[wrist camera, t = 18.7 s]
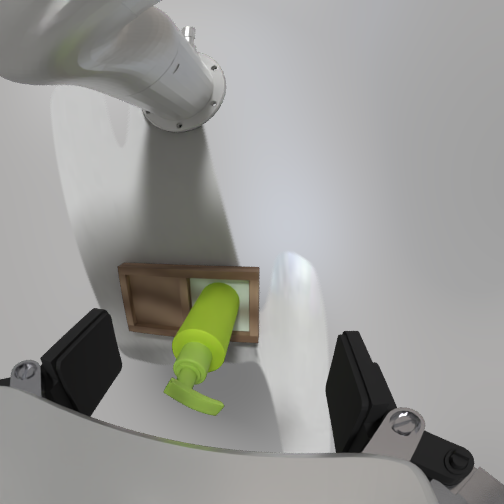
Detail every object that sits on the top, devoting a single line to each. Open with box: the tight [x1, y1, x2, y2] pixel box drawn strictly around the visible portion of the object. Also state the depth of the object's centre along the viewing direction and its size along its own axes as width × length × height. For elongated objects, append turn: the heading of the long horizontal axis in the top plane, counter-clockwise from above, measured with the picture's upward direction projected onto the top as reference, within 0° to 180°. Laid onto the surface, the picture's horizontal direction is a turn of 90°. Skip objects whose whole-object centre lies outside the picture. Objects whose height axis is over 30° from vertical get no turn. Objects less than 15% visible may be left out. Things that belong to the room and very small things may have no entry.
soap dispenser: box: [164, 282, 240, 416], centre depth 32 cm, size 6×7×20 cm
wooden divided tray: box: [118, 263, 259, 343], centre depth 40 cm, size 11×22×5 cm, turn 90°
